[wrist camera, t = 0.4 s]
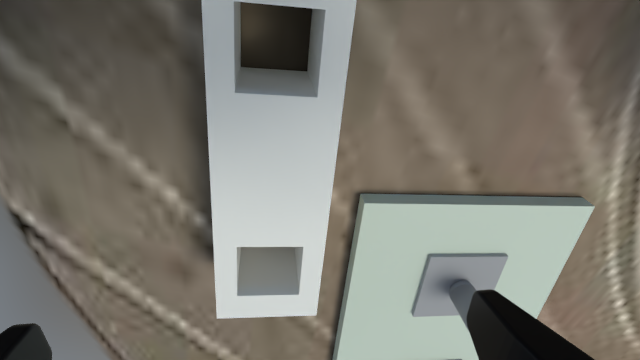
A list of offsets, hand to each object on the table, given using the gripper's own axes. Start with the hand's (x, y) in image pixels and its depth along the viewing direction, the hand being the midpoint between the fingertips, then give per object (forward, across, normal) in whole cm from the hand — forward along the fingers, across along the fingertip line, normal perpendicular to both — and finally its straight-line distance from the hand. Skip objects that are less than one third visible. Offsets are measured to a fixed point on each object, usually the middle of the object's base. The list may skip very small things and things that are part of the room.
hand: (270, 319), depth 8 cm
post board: (+12, -11, +16) cm, 23 cm away
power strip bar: (+12, 0, +1) cm, 12 cm away
